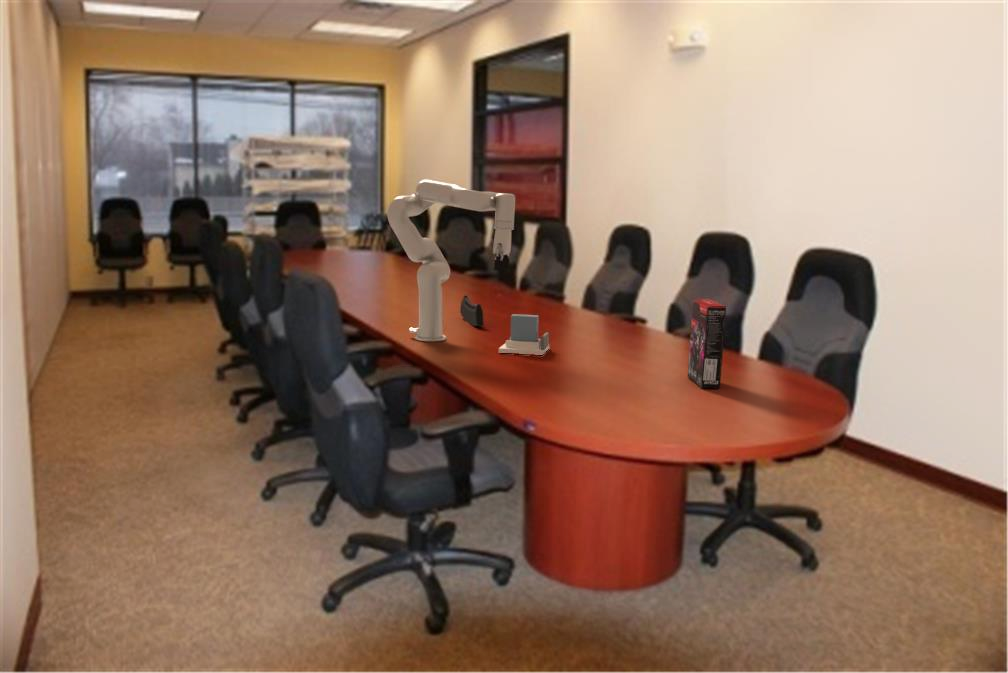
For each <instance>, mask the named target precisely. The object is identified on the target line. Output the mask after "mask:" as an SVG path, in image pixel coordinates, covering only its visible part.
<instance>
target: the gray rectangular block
mask: <svg viewBox="0 0 1008 673" xmlns="http://www.w3.org/2000/svg"><path fill="white" fill-rule="evenodd" d="M539 315H540V314H537V315H535V314H534V315H533V314H521V313H520V314H519V313H517V314H515V313H512V314H511V315H510V337H511V340H510V339H509V341H526V342H538V339H539V317H540V316H539Z"/></svg>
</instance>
